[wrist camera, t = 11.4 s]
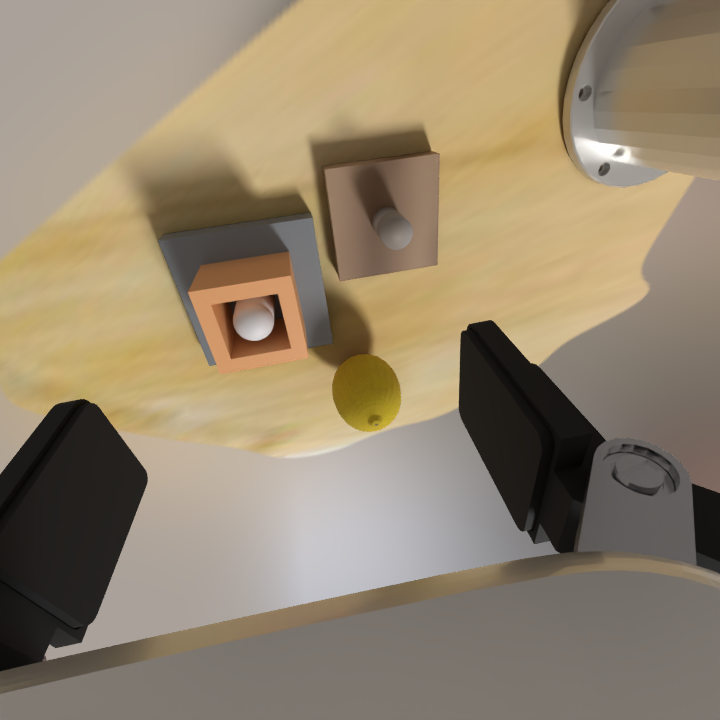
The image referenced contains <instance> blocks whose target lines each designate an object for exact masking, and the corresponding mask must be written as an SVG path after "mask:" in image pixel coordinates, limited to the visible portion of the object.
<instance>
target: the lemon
mask: <svg viewBox="0 0 720 720" xmlns="http://www.w3.org/2000/svg"><path fill="white" fill-rule="evenodd" d="M332 390H333V399H334V402H335V405H336V408H337V410H338V412H339V414H340V415H341V417H342V418H343V419H344V420H345V421H346V423H347V424H349V425H350V426H352V427H353V428H355V429H357V430H360V431H367V432H371V431H377V430H380V429H382V428H384V427H386V426H387V425H389V424H390V423H391V422H392V421H393V420H394V419H395V417H396V415H397V414H398V412H399V408H400V404H401V392H400V385H399V382H398V379H397V377H396V375H395V373H394V371H393V369H392V368H391V367H390V366H389V365H388V364H387V363H386V362H385V361H384V360H382V359H380V358H379V357H377V356H373V355H370V354H360V355H355V356H353V357H350V358H349V359H347V360H346V361H344V362H343V363H342V364H341V365H340V366H339V368H338V370H337V371H336V373H335V376H334V380H333V384H332Z"/></svg>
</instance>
